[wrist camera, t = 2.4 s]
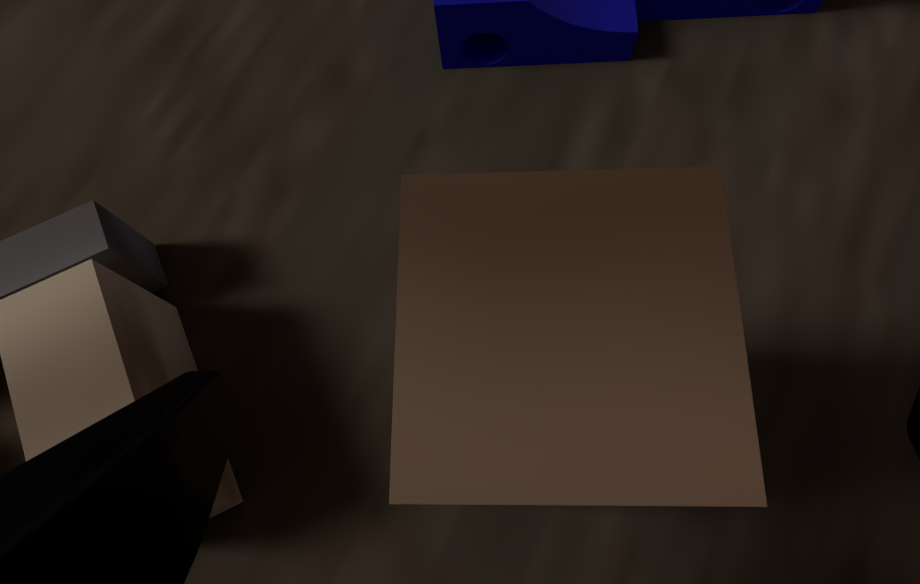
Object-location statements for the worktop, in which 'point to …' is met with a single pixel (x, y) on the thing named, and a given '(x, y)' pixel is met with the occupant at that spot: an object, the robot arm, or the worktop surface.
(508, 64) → the cable clip
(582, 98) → the worktop surface
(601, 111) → the worktop surface
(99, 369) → the stepped pillar cluster
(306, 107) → the worktop surface
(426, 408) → the plain brown block
